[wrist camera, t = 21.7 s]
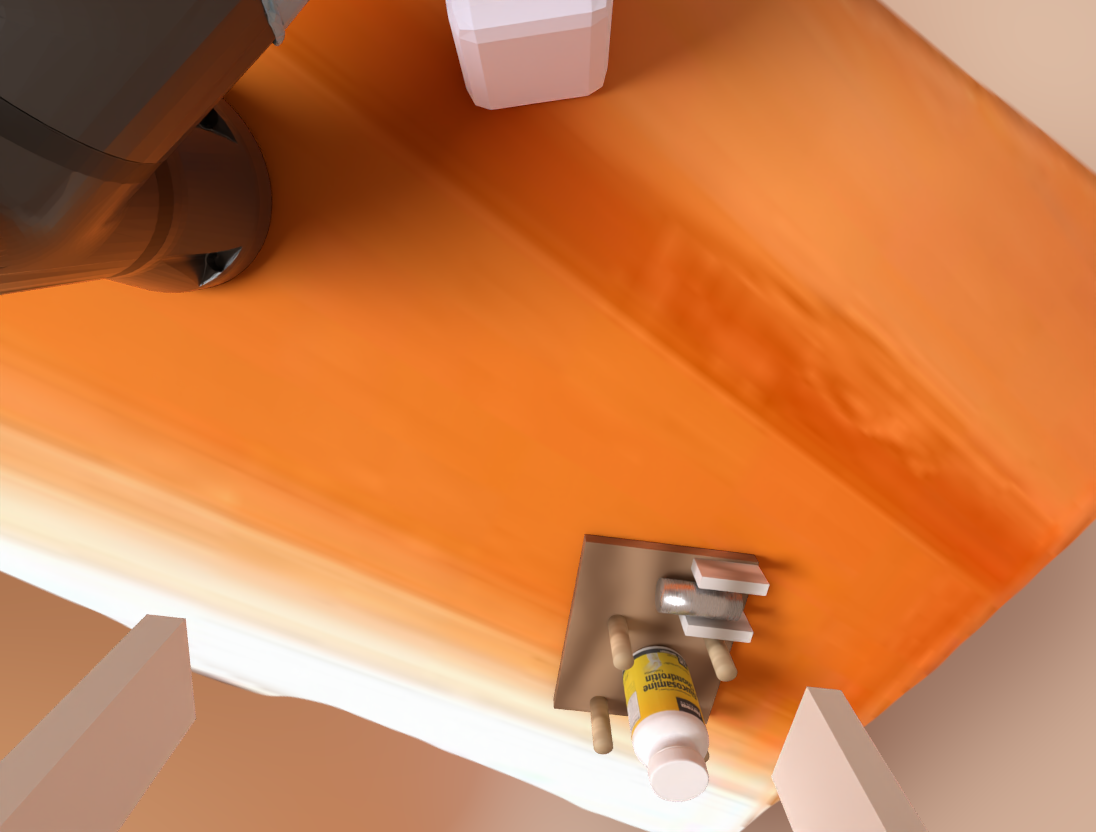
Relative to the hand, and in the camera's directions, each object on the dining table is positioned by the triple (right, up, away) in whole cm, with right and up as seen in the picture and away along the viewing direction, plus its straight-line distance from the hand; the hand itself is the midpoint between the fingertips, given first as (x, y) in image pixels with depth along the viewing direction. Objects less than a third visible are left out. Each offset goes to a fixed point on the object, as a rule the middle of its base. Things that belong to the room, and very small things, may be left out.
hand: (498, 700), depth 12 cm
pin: (+15, -10, +39) cm, 43 cm away
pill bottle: (+12, -19, +43) cm, 48 cm away
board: (+11, -15, +43) cm, 46 cm away
